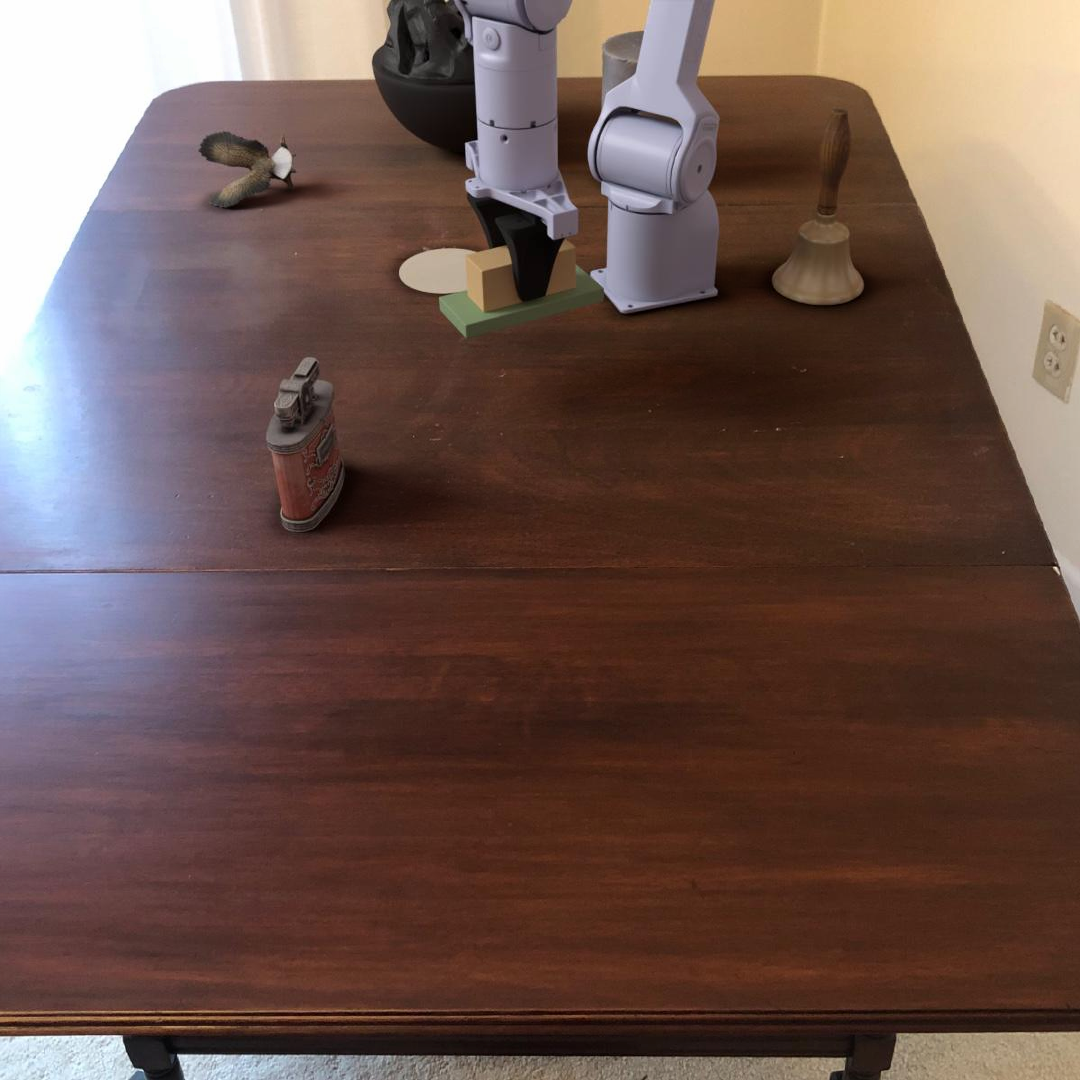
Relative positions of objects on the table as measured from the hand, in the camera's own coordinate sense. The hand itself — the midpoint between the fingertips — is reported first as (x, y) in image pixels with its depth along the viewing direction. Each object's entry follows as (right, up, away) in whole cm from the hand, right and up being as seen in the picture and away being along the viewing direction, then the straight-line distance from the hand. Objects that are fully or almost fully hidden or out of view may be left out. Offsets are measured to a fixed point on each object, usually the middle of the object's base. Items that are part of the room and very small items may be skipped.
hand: (521, 287), depth 95 cm
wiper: (0, -1, +1) cm, 2 cm away
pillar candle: (+13, +19, +36) cm, 43 cm away
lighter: (-15, -17, -7) cm, 23 cm away
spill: (-7, +6, +20) cm, 22 cm away
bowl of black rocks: (-7, +25, +43) cm, 50 cm away
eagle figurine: (-29, +17, +34) cm, 47 cm away
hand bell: (+27, +4, +17) cm, 32 cm away
